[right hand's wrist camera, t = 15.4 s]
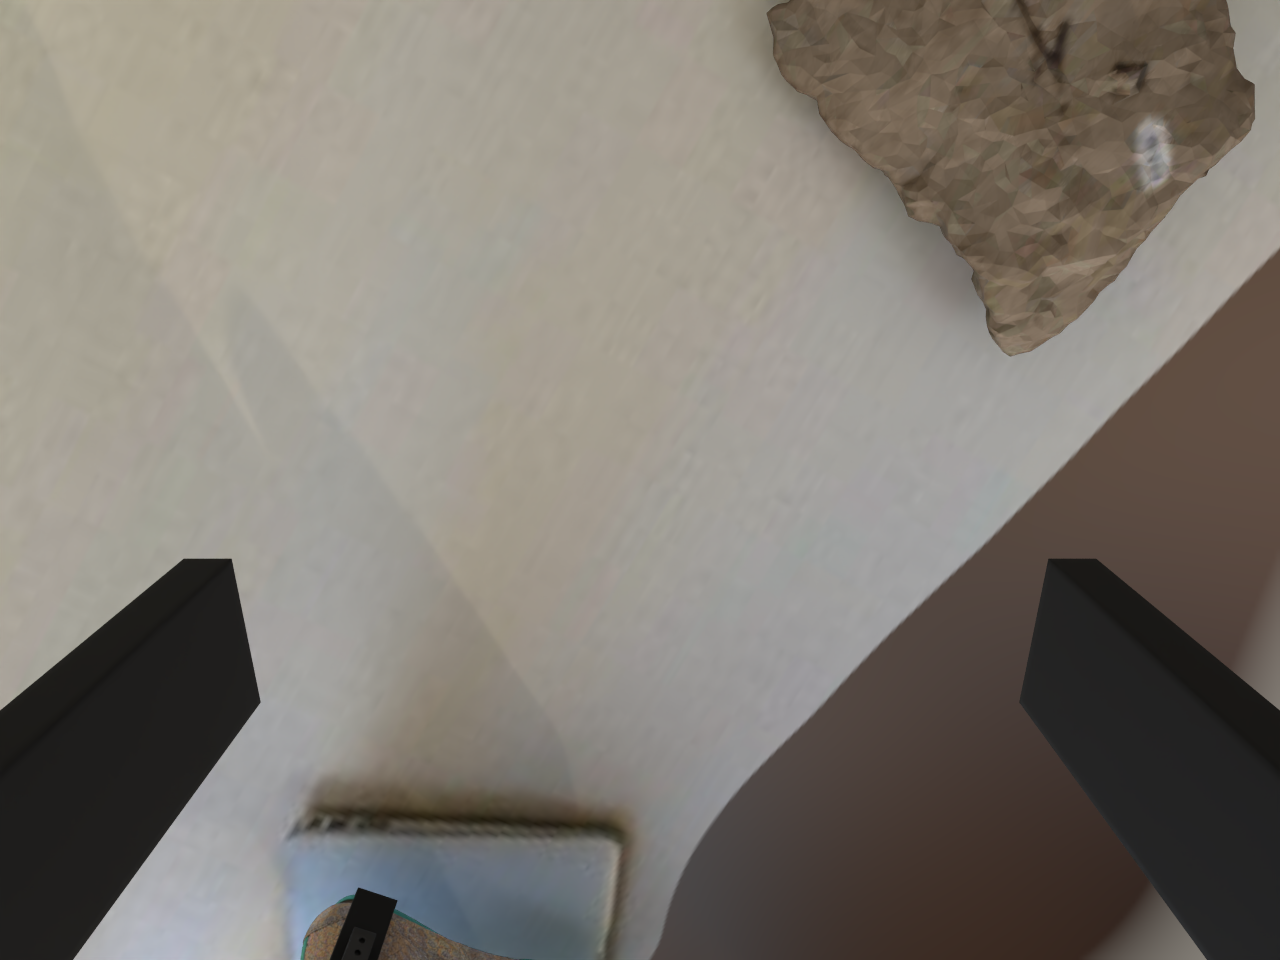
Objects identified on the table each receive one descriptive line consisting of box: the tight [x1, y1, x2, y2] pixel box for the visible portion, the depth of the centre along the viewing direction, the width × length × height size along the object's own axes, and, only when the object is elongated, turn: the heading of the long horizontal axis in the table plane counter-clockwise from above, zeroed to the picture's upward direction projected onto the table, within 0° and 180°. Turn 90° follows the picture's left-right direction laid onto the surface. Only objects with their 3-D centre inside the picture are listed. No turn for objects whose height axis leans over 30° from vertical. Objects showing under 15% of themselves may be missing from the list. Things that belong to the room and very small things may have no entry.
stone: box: [767, 0, 1255, 356], centre depth 36 cm, size 21×15×6 cm
